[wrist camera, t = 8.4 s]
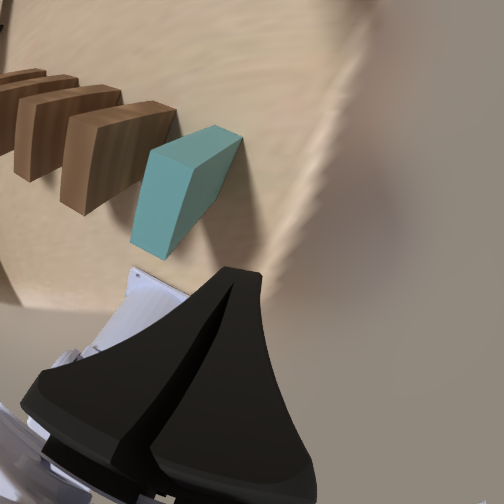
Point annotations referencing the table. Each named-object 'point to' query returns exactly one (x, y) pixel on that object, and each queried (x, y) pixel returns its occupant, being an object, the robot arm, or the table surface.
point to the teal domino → (181, 187)
